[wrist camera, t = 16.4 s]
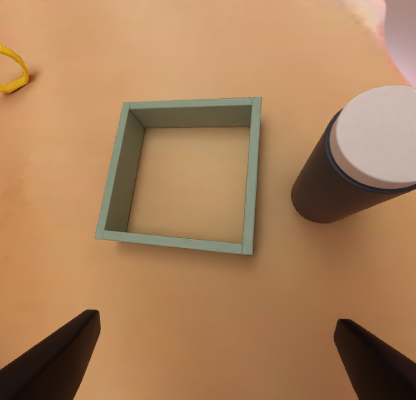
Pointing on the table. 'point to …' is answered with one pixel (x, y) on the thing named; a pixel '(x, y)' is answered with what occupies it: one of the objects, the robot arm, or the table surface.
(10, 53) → the watch
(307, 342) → the table surface
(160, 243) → the box
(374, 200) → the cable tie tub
